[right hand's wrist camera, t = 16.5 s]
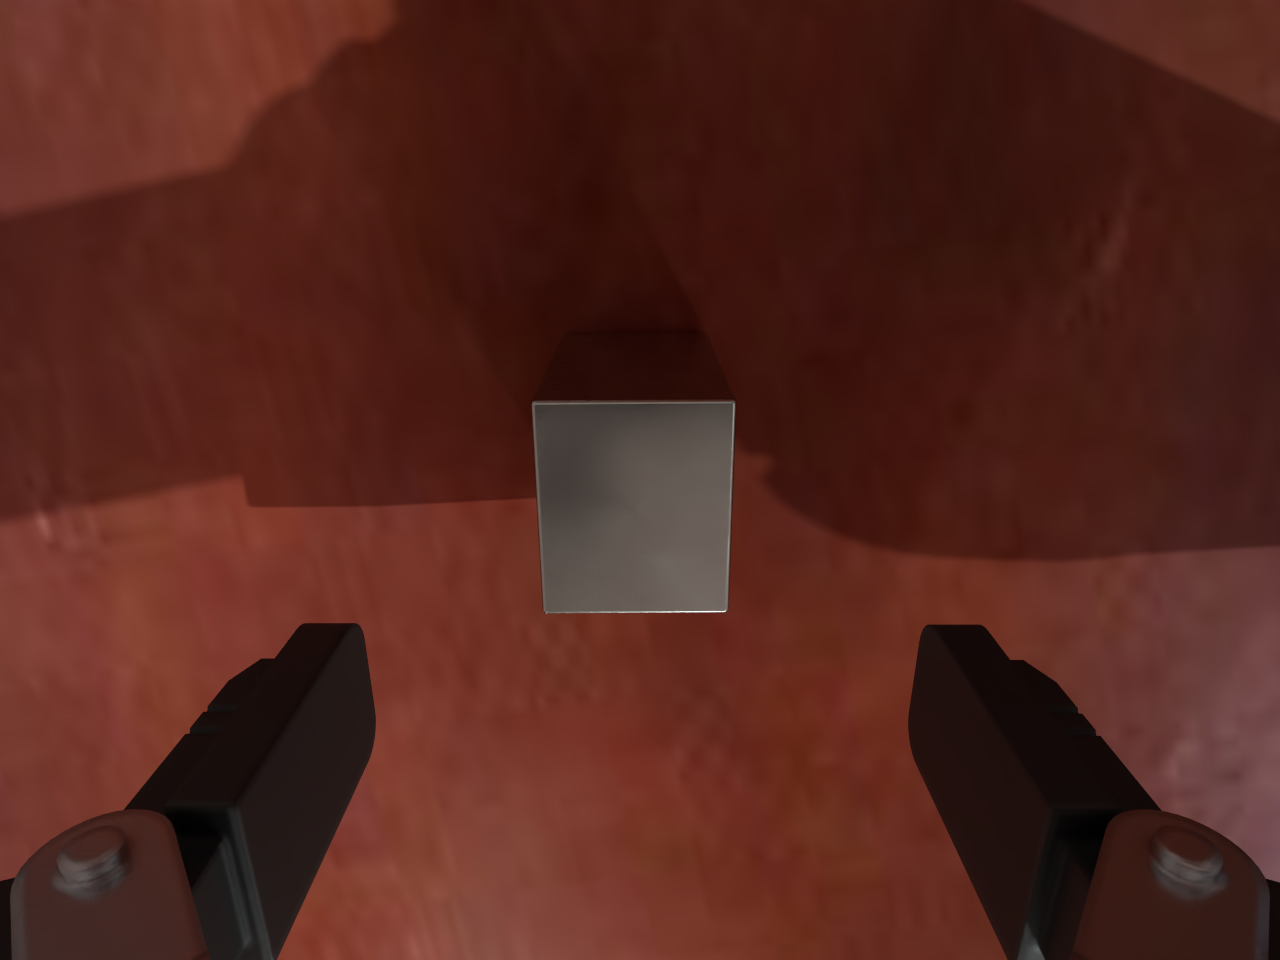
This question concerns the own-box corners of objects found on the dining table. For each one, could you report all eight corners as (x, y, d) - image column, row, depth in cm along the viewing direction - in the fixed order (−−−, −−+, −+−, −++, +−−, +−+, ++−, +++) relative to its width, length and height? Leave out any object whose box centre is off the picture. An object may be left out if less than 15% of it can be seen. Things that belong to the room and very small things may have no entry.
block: (706, 331, 23) (737, 399, 16) (702, 490, 25) (728, 613, 18) (563, 332, 23) (530, 400, 16) (569, 490, 25) (542, 615, 18)
